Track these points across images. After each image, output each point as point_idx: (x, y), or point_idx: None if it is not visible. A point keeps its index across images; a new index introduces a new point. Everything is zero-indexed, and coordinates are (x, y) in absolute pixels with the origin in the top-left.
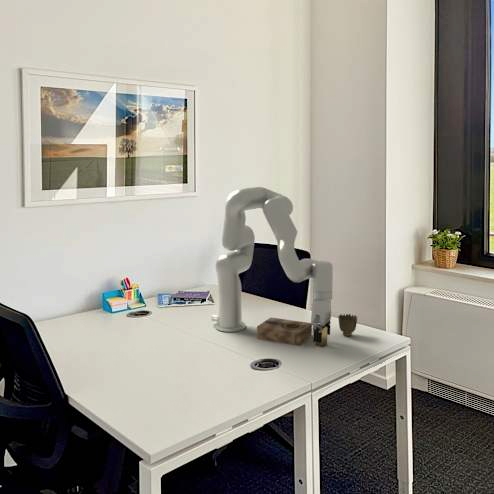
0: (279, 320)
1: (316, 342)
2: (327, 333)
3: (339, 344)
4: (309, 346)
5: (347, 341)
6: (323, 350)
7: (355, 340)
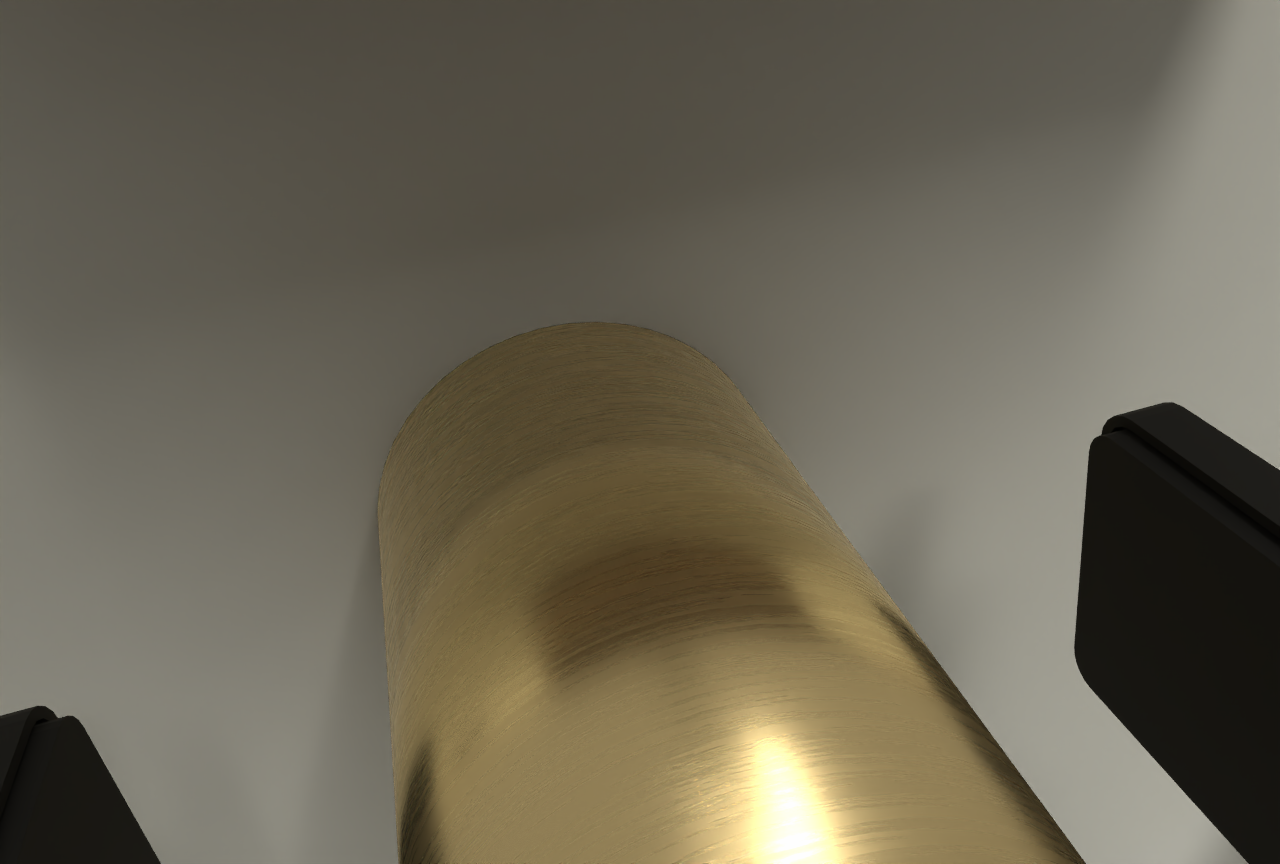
0: None
1: (398, 509)
2: (1101, 638)
3: None
4: (125, 304)
5: (1132, 786)
6: (179, 807)
7: None
